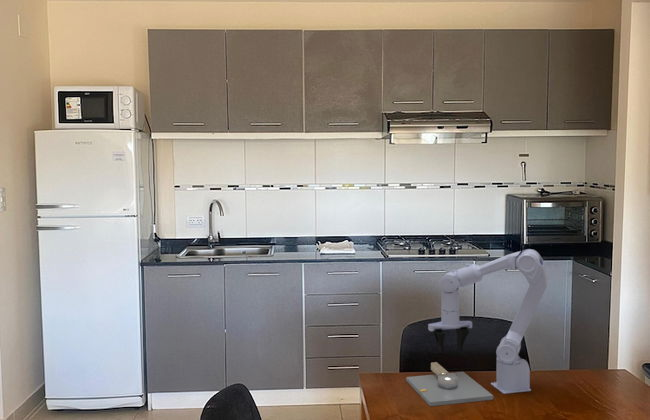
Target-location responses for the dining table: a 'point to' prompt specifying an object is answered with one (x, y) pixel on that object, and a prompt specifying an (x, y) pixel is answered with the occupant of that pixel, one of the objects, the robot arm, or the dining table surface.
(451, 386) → the door lever handle
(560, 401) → the dining table surface
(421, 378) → the lock plate
